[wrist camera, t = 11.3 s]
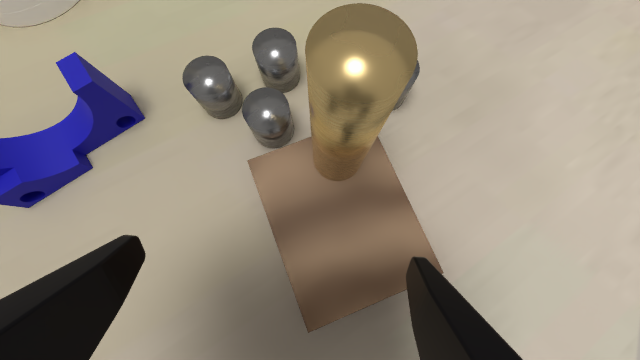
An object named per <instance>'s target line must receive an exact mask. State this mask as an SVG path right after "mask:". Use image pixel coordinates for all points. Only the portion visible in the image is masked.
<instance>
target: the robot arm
mask: <svg viewBox="0 0 640 360" xmlns="http://www.w3.org/2000/svg"><path fill="white" fill-rule="evenodd" d="M144 260H145V251H144V249H143V246H142V244H141V241H140V239H139V238H138V237H137V236H133V235H123V236H120V237H118V238H117V239H115V240H113V241H111V242H109V243H107V244H105V245H103V246H101V247H99V248H98V249H96V250H94V251H92V252H90V253H88V254H86V255H84V256H82V257H80V258H79V259H77V260H75V261H73V262H71V263H69V264H67V265H65V266H63V267H61V268H59V269H58V270H56V271H54V272H52V273H50V274H48V275H46V276H44V277H42V278H40V279H38V280H37V281H35V282H33V283H31V284H29V285H27V286H25V287H23V288H21V289H19V290H18V291H16V292H14V293H12V294H10V295H8V296H6V297H4V298H2V299H0V360H89V359H90V357H91V356H92V354H93V352H94V351H95V349H96V348H97V346H98V344H99V343H100V341H101V339H102V338H103V336H104V334H105V333H106V331H107V330H108V328H109V326H110V325H111V323H112V321H113V320H114V318H115V316H116V315H117V313H118V312H119V310H120V308H121V306H122V305H123V303H124V301H125V299H126V297H127V295H128V293H129V291H130V289H131V287H132V285H133V283H134V281H135V279H136V277H137V275H138V272H139V270H140V268H141V266H142V264H143V262H144ZM406 284H407V291H408V299H409V306H410V314H411V321H412V327H413V332H414V336H415V340H416V344H417V348H418V352H419V356H420V360H523V359H522V358H521V357H520V356H519V355H518V354H517V353H516V352H515V351H514V350H513V349H512V348H511V347H510V346H509V345H508V344H507V342H506V341H505V340H504V339H503V338H502V337H501V336H500V335H499V334H498V333H497V332H496V331H495V330H494V329H493V328H492V327H491V326H490V325H489V324H488V322H487V321H486V320H485V319H484V318H483V317H482V316H481V315H480V314H479V313H478V312H477V311H476V310H475V309H474V308H473V307H472V306H471V305H470V304H469V302H468V301H467V300H466V299H465V298H464V297H463V296H462V295H461V294H460V293H459V292H458V291H457V290H456V289H455V288H454V287H453V286H452V285H451V284H450V282H449V281H448V280H447V279H446V278H445V277H444V276H443V275H442V274H441V273H440V272H439V271H438V270H437V269H436V268H435V267H434V266H433V265H432V264H431V262H430V261H429V260H428V259H427V258H425V257H416V256H414V257H412V258H411V260H410V263H409V266H408V269H407V272H406Z"/></svg>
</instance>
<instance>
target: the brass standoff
mask: <svg viewBox="0 0 640 360" xmlns="http://www.w3.org/2000/svg"><path fill="white" fill-rule="evenodd" d="M305 54H306V68H307V81H308V95H309V108H310V121H311V135H312V148H313V161H314V165H315V167H316V169H317V171H318V172H319V173H320V174H321V175H322V176H323V177H325V178H326V179H329V180H332V181H343V180H346V179H349V178H350V177H352V176H353V175H354V174H355V173H356V172H357V171H358V169H359V167H360V166H361V164H362V162H363V160H364V159H365V157H366V155H367V153H368V152H369V150H370V148H371V146H372V145H373V143H374V141H375V139H376V138H377V136H378V134H379V132H380V131H381V129H382V127H383V125H384V124H385V122H386V120H387V118H388V117H389V115H390V113H391V111H392V110H393V108H394V106H395V104H396V103H397V101H398V99H399V97H400V96H401V94H402V92H403V90H404V89H405V87H406V85H407V83H408V82H409V80H410V78H411V76H412V74H413V72H414V70H415V67H416V64H417V57H418V52H417V45H416V41H415V38H414V36H413V34H412V32H411V30H410V29H409V27H408V26H407V25H406V24H405V22H404V21H403V20H402V19H400V18H399V17H398V16H397V15H395V14H394V13H392V12H391V11H389V10H387V9H384V8H382V7H379V6H376V5H371V4H362V3H357V4H348V5H344V6H340V7H337V8H335V9H333V10H331V11H329V12H327V13H326V14H325V15H323V16H322V17H321V18H320V19H319V20H318V21H317V22H316V23H315V24H314V26H313V27H312V29H311V30H310V32H309V35H308V37H307V41H306V48H305Z"/></svg>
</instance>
